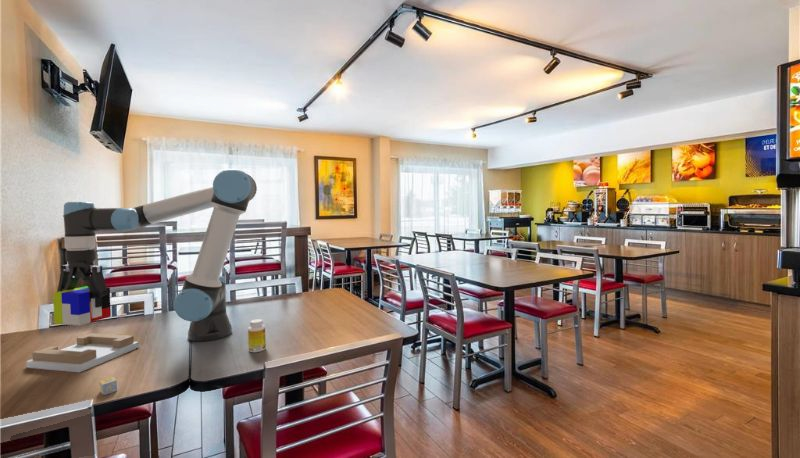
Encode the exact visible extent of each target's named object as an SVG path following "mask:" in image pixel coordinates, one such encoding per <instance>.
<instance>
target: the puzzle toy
mask: <svg viewBox="0 0 800 458" xmlns="http://www.w3.org/2000/svg"><path fill="white" fill-rule="evenodd" d="M106 287H107V286H106ZM107 291H108V294H107V295H104V296H103V297H102V316H100V317H96V318H92V313H91V297H93V295H92V293H91V291H90V290H89V288H88V286H87V285H85V286H81V287H75V289H70V290H64V291H59V292H57V291H54V292H53V293H52V297H53V298H52V299H53V301H52V302H53V315H54V316H53V319H54V321H53V322H54V324H56V325H57V324H58V325H67V326H83V325H86V324H87V325H88V324H91V323H93V322H97V321H101V320H104V319H107V318H110V317H111V316H112V313H111V311H112V310H111V287H107ZM102 292H103V291H102Z"/></svg>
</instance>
